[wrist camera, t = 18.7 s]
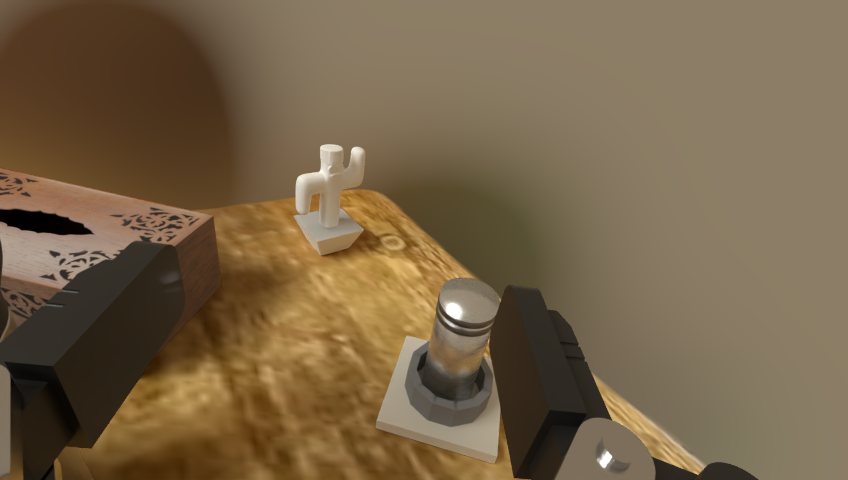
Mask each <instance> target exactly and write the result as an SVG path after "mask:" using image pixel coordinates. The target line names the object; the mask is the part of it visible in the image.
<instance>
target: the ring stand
mask: <svg viewBox="0 0 848 480" xmlns="http://www.w3.org/2000/svg"><path fill="white" fill-rule="evenodd" d="M429 343H430V341H426V340H422V339H418V338H415V337H411V336H408V335H407V336H406V338H405V341H404V344H403V347H402V350H401V353H400V355H399V358H398V361H397V364H396V367H395V369H394V372H393V375H392V378H391V381H390V384H389V386H388V389H387V392H386V395H385V398H384V401H383V403H382V406H381V409H380V412H379V415H378V417H377V420H376V426H375V428H376V429H380V430H383V431H386V432H390V433H393V434H396V435H399V436H403V437H406V438H409V439H413V440H416V441H419V442H423V443H426V444H429V445H432V446H436V447H439V448H442V449H446V450H449V451H452V452H455V453H459V454H462V455H465V456H469V457H472V458H475V459H479V460H482V461H485V462H488V463H492V464H494V463H495V461H496V459H497V455H498V439H499V424H500V403H499V397H498V392H497V387H496V382H495V376H494V371H493V366H492V361H491V359H490V358H486V357H483V358H482V361H481V365H480V368H479V371H478V374H477V377H476V380H475V383H474V386H473V390H472V393H471V396H470V399H469V400H464V401H458V402H453V401H450V400H446V399H443V398H439V397H436V396H435V395H434V394H433V393H432V392H430V391H429V390H428V389H427V388H426V387H425V386H424V385H422V382H421V381H422V376H423V371H424V367H425V362H426V357H427V353H428V348H429Z"/></svg>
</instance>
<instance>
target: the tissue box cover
mask: <svg viewBox="0 0 848 480" xmlns="http://www.w3.org/2000/svg"><path fill="white" fill-rule="evenodd" d="M0 240H1V244H2V252H3V266H2V277H1V292H2V295H3V297H4V299H5V301H6V303H7V305H8V308H9V310H10V312H11V314H12V316H13V318H14V320H15V322H16V324H17V326H18V327H19V326H20V325H21V324H22V323H23V322H24V321H26V320H27V319H28V318H29V317H30V316H31V315H32V314H33V313H35V312H36V311H37V310H38V309H39V308H40V307H41V306H46V302H47V301H48V300H49V299H50V298H52V297H53V296H54V295H55V294H56V293H57V292H61V291H62V288H63V287H64V286H65V285H66V284H67V283H69V282H70V281H71V280H72V279H73V278H74V277H75V276H77V275H78V274H79V273H80V272H81V271H83V270H85V269H87V268H89V267H91V266H93V265H95V264H97V263H99V262H101V261H103V260H105V259H110V260H113V259H114V258H115V257H116V256H117V255H118V254H119V253H121V252H122V251H123V250H124V249H125V248H126V247H127V246H128V245H129V244H130V243H132V242H133V241H146V242H154V243H162V244H170V245H173V246H174V247H175V248H176V251H177V254H178V259H179V265H180V270H181V275H182V280H183V286H184V291H185V307H184V311H183V314H182V316H181V318H180V320H179V322H178V323H177V325H176V326H175V328H174V329H173V331H172V332H171V334H170V335H169V336H168V338H167V339H166V341H165V342H164V344H163V345H162V347H161V348H160V350H159V351H158V352H157V354H158V353H159V352H160V351H161V350H162V349H163V348H164V347H165V346H166V345H167V344H168V342H169V341H170V340H171V339H172V338H173V337H174V336H175V335H176V334H177V333H178V332H179V331H180V330H181V329H182V328H183V326H184V325H185V324H186V323H187V322H188V321H189V320H190V319H191V318H192V317H193V316H194V315H195V314H196V313H197V311H198V310H199V309H200V308H201V307H202V306H203V305H204V304H205V303H206V302H207V301H208V300H209V299H210V298H211V296H212V295H213V294H214V293H215V292H216V291H217V290H218V289H219V288H220V287H221V286H222V282H221V274H220V266H219V258H218V250H217V242H216V234H215V226H214V218H213V215H208V214H204V213H200V212H195V211H191V210H186V209H182V208H177V207H173V206H169V205H164V204H160V203H155V202H151V201H146V200H142V199H138V198H133V197H128V196H124V195H120V194H115V193H111V192H107V191H102V190H98V189H93V188H88V187H84V186H80V185H75V184H71V183H67V182H62V181H58V180H53V179H49V178H44V177H40V176H36V175H31V174H27V173H22V172H18V171H13V170H9V169H5V168H0ZM157 354H156V355H157ZM156 355H155V356H156ZM153 359H154V358H153Z"/></svg>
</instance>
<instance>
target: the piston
mask: <svg viewBox="0 0 848 480" xmlns="http://www.w3.org/2000/svg"><path fill="white" fill-rule="evenodd" d="M499 304H500V301H499V297H498V295H497V294H496V292H495V291H494V290H493V289H492V288H491V287H490V286H488V285H487V284H485V283H483V282H481V281H478V280H475V279H471V278H455V279H451V280H449V281H447V282H446V283H445V284H444V285H443V286H442V288H441V291H440V294H439V297H438V302H437V307H436V315H435V320H434V324H433V329H432V334H431V338H430V343H429V348H428V353H427V357H426V362H425V367H424V371H423V376H422V381H421V382H422V385H424V386H425V387H426V388H427V389H428V390H429V391H430V392H432V393H433V394H434V395H435V396H436V397H439V398H443V399H446V400H450V401H453V402H458V401H464V400H469V399H470V396H471V393H472V390H473V386H474V383H475V380H476V377H477V374H478V371H479V368H480V365H481V361H482V358H483V355H484V352H485V349H486V346H487V343H488V339H489V336H490V333H491V328H492V325H493V322H494V319H495V316H496V314H497V311H498V308H499Z"/></svg>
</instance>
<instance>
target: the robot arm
mask: <svg viewBox="0 0 848 480" xmlns="http://www.w3.org/2000/svg"><path fill="white" fill-rule="evenodd" d="M2 266H3V252H2V244H1V240H0V480H94V478H93V476H92V474H91V472H90V470H89V468H88V466H87V464H86V462H85V460H84V458H83V456H82V454H81V452H80V449H79V448H92V447H93V445H94V444H95V443H96V441H97V440H98V438H99V437H100V435H101V434H102V432H103V431H104V429H105V428H106V427H107V425H108V424H109V422H110V421H111V419H112V418H113V416H114V415H115V413H116V412H117V411H118V409H119V408H120V406H121V405H122V403H123V402H124V400H125V399H126V398H127V396H128V395H129V393H130V392H131V390H132V389H133V387H134V386H135V384H136V383H137V382H138V380H139V379H140V377H141V376H142V374H143V373H144V371H145V370H146V368H147V367H148V366H149V364H150V363H151V361H152V360H153V358H154V357H155V355H156V354H157V352H158V351H159V350H160V348H161V347H162V345H163V344H164V342H165V341H166V339H167V338H168V336H169V335H170V334H171V332H172V331H173V329H174V328H175V326H176V325H177V323H178V322H179V320H180V318H181V316H182V314H183V311H184V307H185V291H184V286H183V280H182V275H181V270H180V265H179V259H178V254H177V251H176V248H175V247H174V246H173V245H170V244H162V243H154V242H146V241H133V242H132V243H130V244H129V245H128V246H127V247H126V248H125V249H124V250H123V251H122V252H121V253H119V254H118V255H117V256H116V257H115V258H114V259H113V260H110V259H105V260H103V261H101V262H99V263H97V264H95V265H93V266H91V267H89V268H87V269H85V270H83V271H81V272H80V273H79V274H78V275H77V276H75V277H74V278H73V279H72V280H71V281H70V282H69V283H67V284H66V285H65V286H64V287H63V288H62V291H61V292H57V293H56V294H55V295H54V296H53V297H52V298H50V299H49V300H48V301H47V302H46V306H41V307H40V308H39V309H38V310H37V311H36V312H35V313H33V314H32V315H31V316H30V317H29V318H28V319H27V320H26V321H24V322H23V323H22V324H21V325H20V326H19V327H18V326H17V324H16V322H15V320H14V318H13V316H12V314H11V312H10V310H9V308H8V305H7V303H6V301H5V299H4V297H3V295H2V292H1V277H2ZM489 348H490V356H491V361H492V366H493V371H494V376H495V382H496V387H497V392H498V397H499V403H500V408H501V413H502V418H503V423H504V429H505V434H506V439H507V444H508V449H509V455H510V460H511V465H512V470H513V475H514V478H519V479H531V480H758V479H757V478H755V477H754V476H753V475H751V474H750V473H748V472H746V471H745V470H743V469H741V468H738V467H737V466H734V465H731V464H727V463H722V462H716V463H711V464H709V465H708V466H707V467H705V468H704V470H703V471H702V472H701V473H700V474H699V475H697V474H694V473H692V472H689V471H687V470H684V469H681V468H679V467H676V466H674V465H671V464H669V463H666V462H664V461H661V460H658V459H656V458H654V457H652V456H651V454H650V453H649V451H648V449H647V448H646V446H645V445H644V444H643V442H642V441H641V440H640V439H639V438H638V437H637V436H636V435H635V434H634V433H633V432H631V431H630V430H629V429H627V428H626V427H624V426H623V425H621V424H619V423H617V422H615V421H612V419H611V417H610V415H609V412H608V410H607V408H606V406H605V403H604V401H603V399H602V396H601V394H600V392H599V390H598V387H597V385H596V383H595V380H594V378H593V376H592V374H591V371H590V369H589V367H588V364H587V362H585V361H584V359H585V357H584V355H583V353H582V351H581V348H580V347H578V342H577V339H576V337H575V335H574V332H573V330H572V328H571V326H570V325H569V324H568V323H567V322H566V321H565V319H564V318H563V317H562V316H561V315H560V314H559V313H558V312H557V311H554V310H547V308H546V305H545V302H544V300H543V297H542V295H541V293H540V291H539V289H537V288H530V287H522V286H514V285H508V286H507V287H506V288H505V291H504V293H503V296H502V299H501V302H500V305H499V308H498V311H497V314H496V316H495V319H494V322H493V325H492V328H491V333H490V341H489Z"/></svg>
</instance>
